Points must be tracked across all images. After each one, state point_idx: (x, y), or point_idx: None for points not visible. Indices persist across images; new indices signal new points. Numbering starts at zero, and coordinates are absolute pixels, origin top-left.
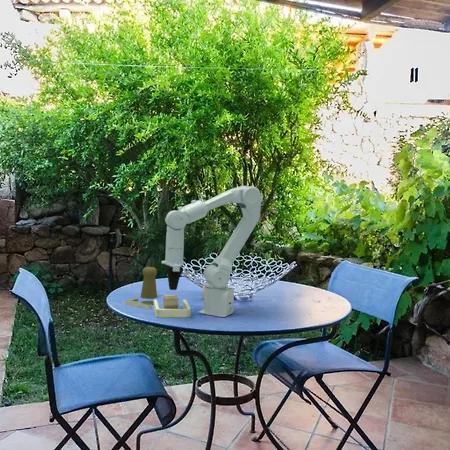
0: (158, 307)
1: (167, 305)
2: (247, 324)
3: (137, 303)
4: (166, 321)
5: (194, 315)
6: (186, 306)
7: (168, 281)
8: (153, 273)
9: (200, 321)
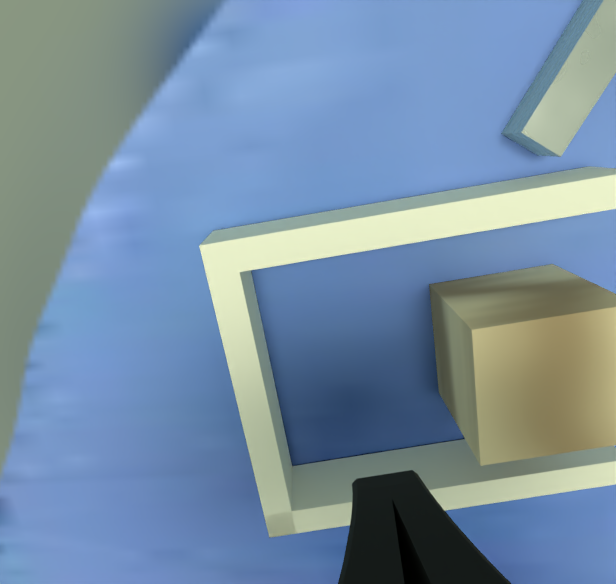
0: (298, 258)
1: (446, 329)
2: None
3: None
4: (117, 327)
5: None
6: None
7: (438, 550)
8: None
9: (176, 551)
